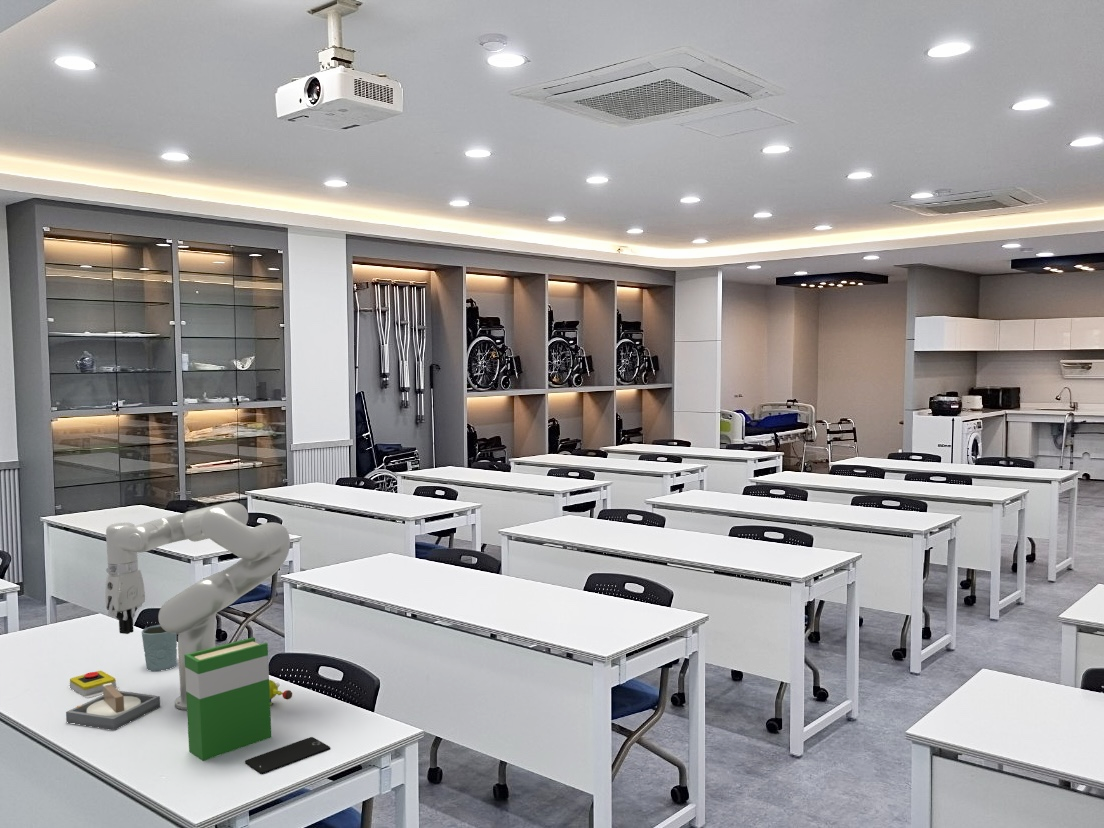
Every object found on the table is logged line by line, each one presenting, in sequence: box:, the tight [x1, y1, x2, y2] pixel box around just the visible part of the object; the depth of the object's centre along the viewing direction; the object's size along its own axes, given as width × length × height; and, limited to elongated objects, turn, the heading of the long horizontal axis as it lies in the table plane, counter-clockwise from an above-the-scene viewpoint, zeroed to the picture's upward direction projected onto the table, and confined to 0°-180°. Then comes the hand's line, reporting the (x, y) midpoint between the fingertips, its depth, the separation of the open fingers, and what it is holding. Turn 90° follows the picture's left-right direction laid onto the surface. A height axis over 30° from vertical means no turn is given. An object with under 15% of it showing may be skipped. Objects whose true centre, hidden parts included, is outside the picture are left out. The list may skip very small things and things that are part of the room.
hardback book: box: [184, 636, 272, 762], centre depth 220 cm, size 18×7×24 cm, turn 135°
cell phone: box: [244, 736, 331, 775], centre depth 214 cm, size 9×18×1 cm, turn 135°
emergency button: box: [68, 670, 120, 699], centre depth 261 cm, size 9×4×15 cm
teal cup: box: [141, 624, 178, 672], centre depth 278 cm, size 10×10×12 cm
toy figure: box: [269, 679, 293, 707], centre depth 245 cm, size 18×6×7 cm, turn 59°
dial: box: [87, 683, 141, 717], centre depth 240 cm, size 13×13×6 cm
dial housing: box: [65, 690, 161, 731], centre depth 241 cm, size 16×16×3 cm
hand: (126, 632), depth 250 cm, fingers closed
